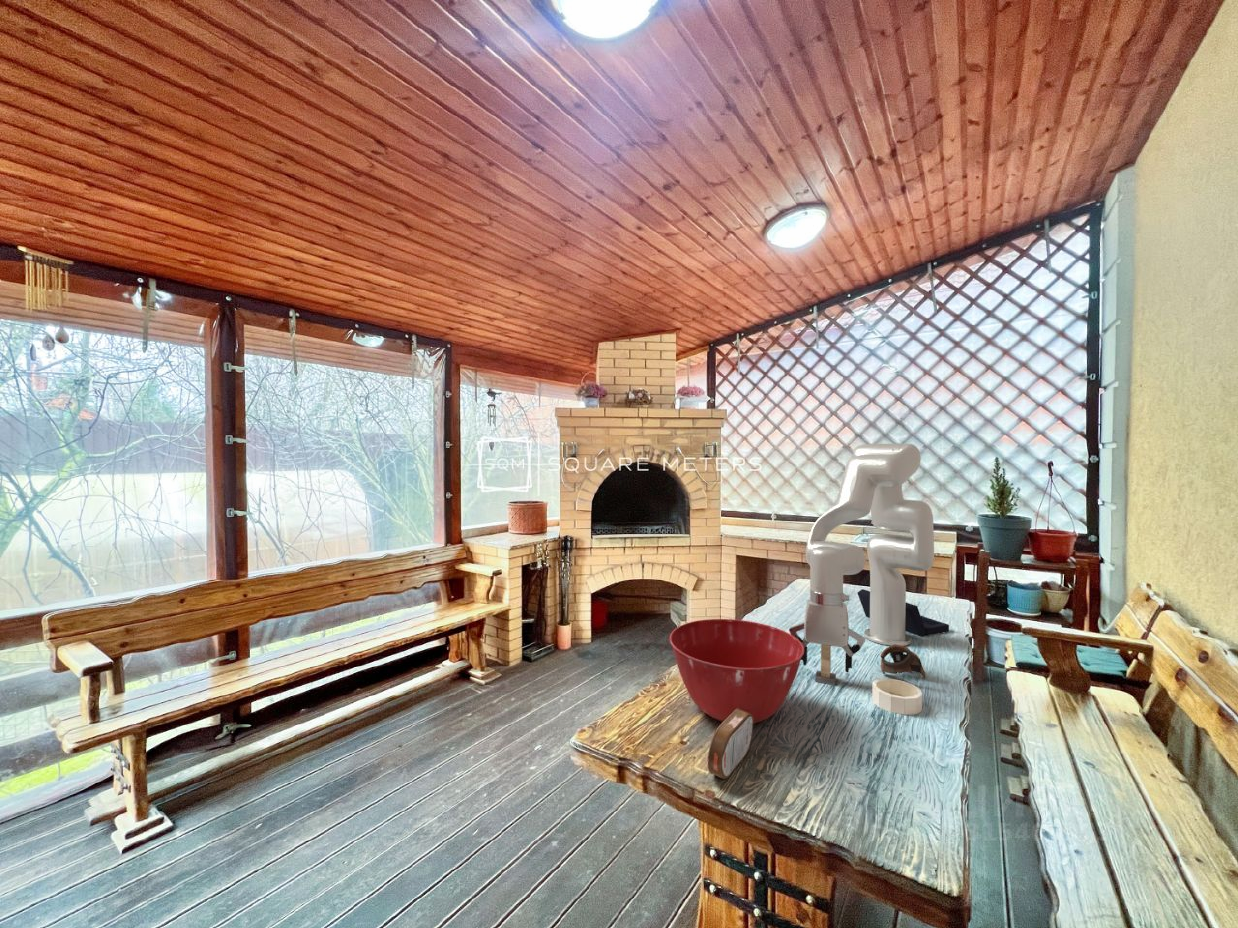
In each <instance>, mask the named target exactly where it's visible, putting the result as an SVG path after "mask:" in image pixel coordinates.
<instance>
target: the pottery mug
mask: <svg viewBox="0 0 1238 928" xmlns="http://www.w3.org/2000/svg"><path fill="white" fill-rule="evenodd" d="M888 655H889V656H890V658H892V662H890V661H887V660H886V659H885V658H886V657H887V656H888ZM880 658H881V660H880V669H881V672H882V674H883V675H885V674H886V673H889V674H895V675H897V674H902V673H906V672H908V673H910V674H912V673H913V672H916V673H919V674H920V675H921V676H922V678H923V680H926V672H925V671H926V670H925V669H924V667H923V665H922V661H921V658H920V657H919V656H918V655H917V654H916V653H915V652H914V651H911V649H910V648H909V647H908V646H902V645H896V644H895V645H892V646H888V647H887V648H885V649H884V650H883V651H882V652H881V654H880Z"/></svg>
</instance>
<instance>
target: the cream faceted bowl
mask: <svg viewBox="0 0 1238 928" xmlns="http://www.w3.org/2000/svg"><path fill="white" fill-rule="evenodd" d="M871 682H872V686H871V687H872V688H871V689H872V690H871V691H872V692H871V696H872V703H874V704H875V706H877V707H878V708H879V709H882V710H884V711H888V712H890V713H892V714H893V713H894V714H900V715H905V716H906V715H907V716H909V715H917V714H919V713H921V712H922V711H923V693H922V690H921V689H920V688H919V687H917V686H916V685H914V684H912V683H910V682H907V681H903V680H901V679H900V680H899V679H894V678H877V679H875V680H873V681H871Z"/></svg>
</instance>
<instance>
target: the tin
mask: <svg viewBox="0 0 1238 928" xmlns="http://www.w3.org/2000/svg"><path fill="white" fill-rule="evenodd" d="M753 721H754V719H753V716H752V714H750V713H748V712H746V711H743V710H741V709H740V708H738V709H736V710H735V711H734V712H733V713H732V714H731V715H730V716H729V717H728V718H727V719H726V720H725V721H724V722H721V724H719V726H718V727H717V728H716V731H715V732H714V734H713V736H712V738H711V741H710V745H709V750H708V754H707V770H708V772H709V774H710V775H714V776H716V777H719V778H720V779H724V780H726V779H728V778H729V777H730V776H731V775H732V773H733V772H734V771H735V770H736V769H737V767H738V766H739V765H740V764H741V763H742V761H743V760H744V759H745V758H746V756H747V755H748V753H749V750H750V747H751V745H752V741H753V731H754V724H753Z"/></svg>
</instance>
